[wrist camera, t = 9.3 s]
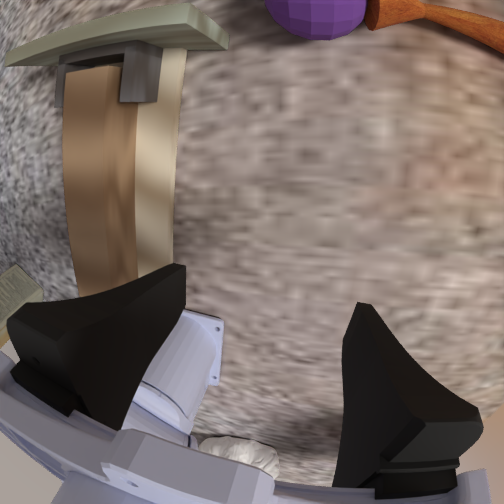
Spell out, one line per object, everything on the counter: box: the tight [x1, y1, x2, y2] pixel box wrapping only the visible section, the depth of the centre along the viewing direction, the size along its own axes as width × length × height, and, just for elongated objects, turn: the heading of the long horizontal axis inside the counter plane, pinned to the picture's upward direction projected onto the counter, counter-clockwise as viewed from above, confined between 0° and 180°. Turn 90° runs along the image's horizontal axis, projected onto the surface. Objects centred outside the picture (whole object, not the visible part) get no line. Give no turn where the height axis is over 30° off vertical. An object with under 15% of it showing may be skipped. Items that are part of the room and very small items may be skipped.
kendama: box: [265, 0, 504, 54], centre depth 11 cm, size 6×6×20 cm
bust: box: [198, 436, 279, 479], centre depth 33 cm, size 12×8×11 cm
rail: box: [62, 66, 139, 297], centre depth 20 cm, size 18×4×4 cm, turn 173°
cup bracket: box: [5, 3, 230, 278], centre depth 19 cm, size 23×16×7 cm
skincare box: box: [0, 264, 44, 348], centre depth 27 cm, size 6×4×12 cm
